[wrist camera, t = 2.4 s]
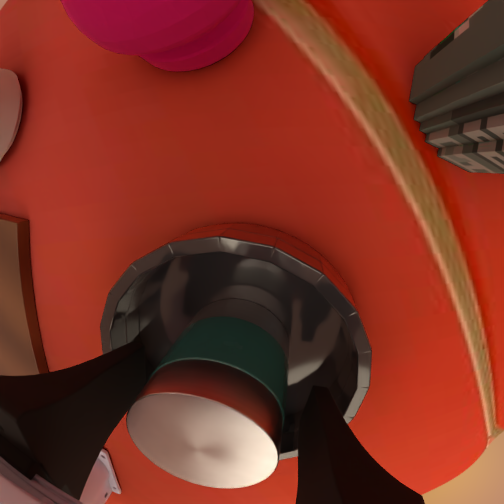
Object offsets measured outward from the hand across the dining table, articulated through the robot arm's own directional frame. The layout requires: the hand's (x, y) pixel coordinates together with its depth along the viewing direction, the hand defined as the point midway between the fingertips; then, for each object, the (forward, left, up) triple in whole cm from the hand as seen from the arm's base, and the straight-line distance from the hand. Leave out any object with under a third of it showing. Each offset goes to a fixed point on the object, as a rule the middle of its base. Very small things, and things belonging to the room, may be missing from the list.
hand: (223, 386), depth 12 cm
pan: (0, 0, -4) cm, 4 cm away
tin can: (0, 0, -3) cm, 3 cm away
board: (-6, +21, -4) cm, 22 cm away
